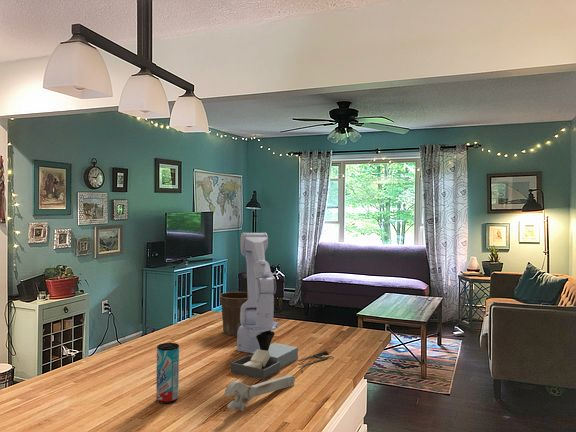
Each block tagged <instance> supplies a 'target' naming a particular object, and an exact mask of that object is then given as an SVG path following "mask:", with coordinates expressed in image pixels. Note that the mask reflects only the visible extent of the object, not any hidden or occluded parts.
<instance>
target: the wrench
mask: <svg viewBox="0 0 576 432" xmlns="http://www.w3.org/2000/svg"><path fill="white" fill-rule="evenodd" d="M295 382H296V378H295V376H294V375H291V374H287V375H283V376H280V377H277V378H273V379H270V380H266V381H263V382H259V383H256V384H253V385H247V384H245V383H243V382H241V381H238V380H232V381H231V382H230V383H229V384H228V385H227V386H226V387H225V389H224V392H223V394H224V396H227V397H230V396H231V395H233V394H234V398H233V399H232V400H231V401H230V402H229V403H227V405H226V407H227V409H229V410H230V411H231V410H232V411H240V412H243V411H244V408H245V407H246V406H247V404H249V402H250V401H251V400H252V399H254V398H256V397H259V396H262V395H265V394H269V393H273V392H275V391H280V390H282V389H285V388H286V389H287V388H289V387H291V386H294V384H295Z"/></svg>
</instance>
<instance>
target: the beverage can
mask: <svg viewBox="0 0 576 432" xmlns="http://www.w3.org/2000/svg"><path fill="white" fill-rule="evenodd" d="M179 366H180V345H179V344H178V343H177V342H176V343H175V342H163V343H160V344H158V345H156V386H155V387H156V388H155V389H156V395H155V399H156V401H157V402H158V403H161V404H172V403H174V402H176V401H177V400H178V399H179V380H180V379H179V375H180V373H179V370H180V369H179V368H180V367H179Z"/></svg>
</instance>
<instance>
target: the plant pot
mask: <svg viewBox="0 0 576 432" xmlns="http://www.w3.org/2000/svg"><path fill="white" fill-rule="evenodd" d="M218 296H219V299H220V306H221V318H222V332H223V334H225V335H230V336H234V337H235V336H236V337H237V332H238V329H239V327H240V326H241V322H240V312H241V306H242V304H244V303H245V302H246V301H247V300H248V291H246V292H245V291H227V292H222V293H220V294H219V295H218ZM246 309H255V308H246Z"/></svg>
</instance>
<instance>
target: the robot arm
mask: <svg viewBox="0 0 576 432" xmlns="http://www.w3.org/2000/svg"><path fill="white" fill-rule="evenodd" d="M239 239H240V242H239V243H240V245H239V246H240V253H241V255H242V256H243V257H245V262H246V280H247V281H246V283H247V288H246V289H247V291H246V292H248V300H247V301H246V302H245V303H244V304H242V306H241V312H240V322H241V326H240V327H239V329H238V332H237V336H236V337H237V339H236V341H237V342H236V348H235V350H236V351H240V352H243V353H248V354H252V352H255V351H256V350H257V349H260V350H266V351H268V350H269V346H270V344H272V343H271V342H272V340H273V338H274V336H275V330H277V329H279V322H278V321H274V312H275V311H274V310H275V307H274V306H275V305H274V304H275V303H274V301H275V296H274V295H275V294H276V292H277V282H276V277H275V276H274V275H273V274H272V271H271V267H270V266H271V265H270V263H269V262H268V261H267V260H266V252H267V251H266V250H267V248H268V246H269V235H268V234H267V232H242V233H241V234H240V238H239ZM246 308H254V309H246Z"/></svg>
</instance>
